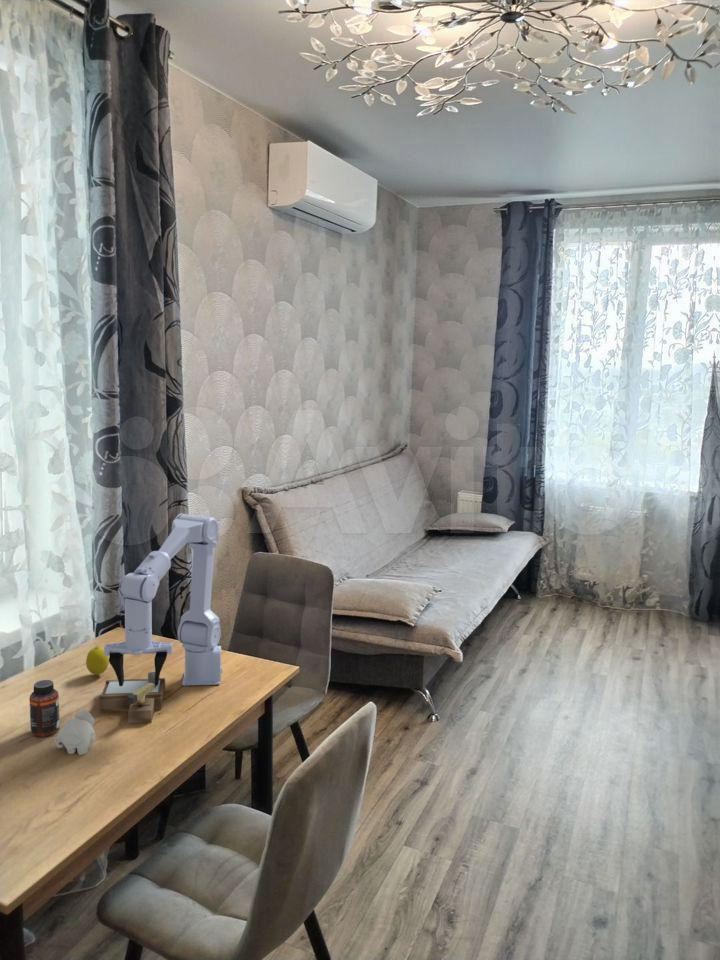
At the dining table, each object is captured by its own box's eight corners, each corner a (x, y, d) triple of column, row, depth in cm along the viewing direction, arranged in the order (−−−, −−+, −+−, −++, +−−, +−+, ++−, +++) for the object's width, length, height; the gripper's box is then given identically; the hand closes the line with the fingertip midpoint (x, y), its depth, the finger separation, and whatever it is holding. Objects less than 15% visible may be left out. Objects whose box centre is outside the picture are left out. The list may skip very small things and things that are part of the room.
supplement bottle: (66, 728, 164) (64, 681, 162) (44, 740, 159) (42, 691, 157) (46, 722, 166) (44, 675, 164) (24, 733, 161) (22, 685, 159)
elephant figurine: (60, 738, 160) (59, 707, 159) (104, 740, 160) (103, 710, 158) (44, 757, 152) (43, 725, 151) (90, 759, 152) (89, 728, 151)
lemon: (104, 680, 188) (103, 651, 187) (83, 679, 188) (82, 650, 187) (112, 671, 193) (111, 642, 192) (91, 670, 193) (90, 641, 192)
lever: (149, 696, 174) (148, 682, 173) (154, 698, 173) (154, 683, 172) (127, 711, 166) (127, 696, 165) (133, 713, 165) (132, 698, 165)
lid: (160, 682, 181) (160, 667, 181) (157, 694, 175) (157, 679, 175) (109, 684, 179) (109, 669, 179) (104, 696, 173) (104, 680, 173)
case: (165, 690, 184) (165, 677, 183) (158, 722, 168) (158, 707, 168) (107, 692, 182) (106, 678, 181) (94, 724, 166) (94, 709, 165)
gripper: (101, 633, 158) (102, 692, 160) (170, 632, 160) (170, 690, 162) (107, 622, 165) (108, 678, 167) (173, 620, 167) (173, 676, 169)
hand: (139, 683), depth 165 cm, fingers open, 7 cm apart
